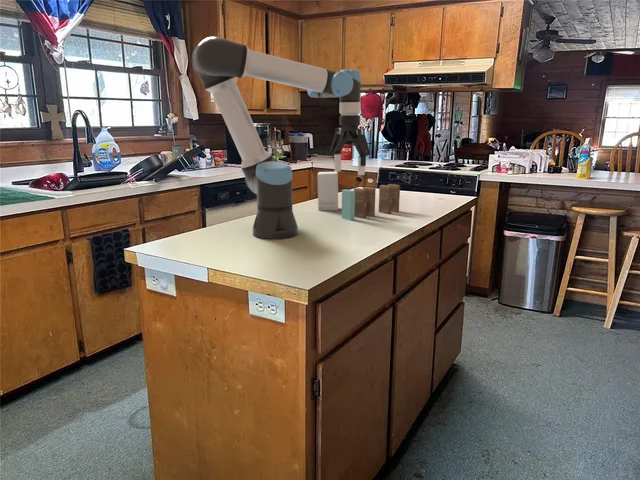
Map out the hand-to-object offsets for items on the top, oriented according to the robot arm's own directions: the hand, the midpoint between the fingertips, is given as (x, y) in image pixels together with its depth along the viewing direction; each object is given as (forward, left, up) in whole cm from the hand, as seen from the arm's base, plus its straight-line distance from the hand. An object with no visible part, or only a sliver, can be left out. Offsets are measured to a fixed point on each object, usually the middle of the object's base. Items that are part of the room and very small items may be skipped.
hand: (349, 173), depth 179 cm
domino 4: (+21, -11, -18) cm, 30 cm away
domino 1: (+5, -3, -18) cm, 18 cm away
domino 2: (+9, -5, -18) cm, 20 cm away
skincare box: (+14, +15, -18) cm, 27 cm away
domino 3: (+17, -9, -18) cm, 26 cm away
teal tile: (0, 0, -18) cm, 18 cm away
